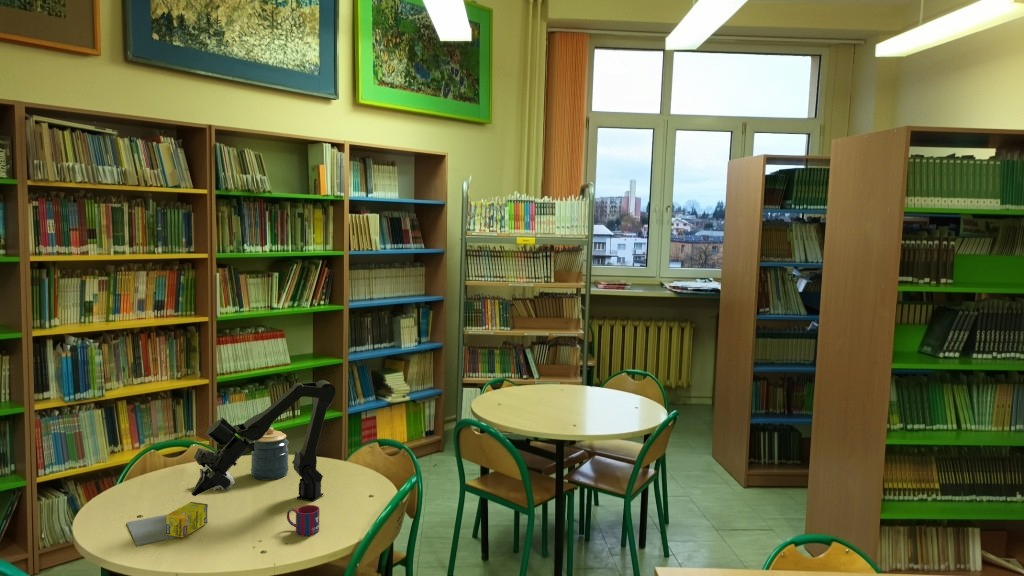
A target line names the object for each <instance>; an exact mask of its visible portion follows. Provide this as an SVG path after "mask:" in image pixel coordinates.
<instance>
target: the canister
mask: <svg viewBox="0 0 1024 576" xmlns="http://www.w3.org/2000/svg"><path fill="white" fill-rule="evenodd" d="M286 438H287V434H285V433H283V432H282V431H280V430H276V429H274V427H271V426H270V428H269V430H268V431H267V432H266V433H265V434H264V436H263V437H262V438H261V439H259V440H257V441H253V442H254V443H255V445H254V447H255V451H254V452H253V451H252V450H251V452H250V456H251V459H250V461H251V467H250V474H251V478H253V479H255V480H258V481H259V480H260V481H269V480H270V481H272V480H277V479H281V478H283V477H285V476H287V475H288V473H289V472H288V471H289V452H290V451H289V449H288V444H289V440H288V439H286Z"/></svg>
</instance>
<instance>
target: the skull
mask: <svg viewBox="0 0 1024 576" xmlns="http://www.w3.org/2000/svg"><path fill="white" fill-rule="evenodd" d="M203 468H204V467H202V468H201V469H203ZM226 474H227V476H226V477H228V478H229V480H230V486H229V487H228V488H227V489H224V488H223V487H221V486H220V485H219V486H216V487H213V488H211V490H213V491H214V492H215V491H217V489H221V491H224V490H227V491H228V489H230V488H231V487H232V486H233V485H234V484H235V480H234V478H233V476H232V474H231V473H230V472H229V470H228V471H227V472H226Z"/></svg>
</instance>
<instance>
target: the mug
mask: <svg viewBox="0 0 1024 576" xmlns="http://www.w3.org/2000/svg"><path fill="white" fill-rule="evenodd" d="M290 512H294V513H295V523H294V522H293V521H292V520H291V517H290ZM286 520H287V522H288V523H289V525H291V526H292V527H294V528H295V534H296V535H297V536H300V537H311V536H314V535H316V534H317V533H319V532H320V507H319V506H318V505H314V504H306V505H305V504H304V505H302V506H298V507H297V508H290V509H289V510H288V511H287V512H286Z"/></svg>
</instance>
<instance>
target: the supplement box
mask: <svg viewBox="0 0 1024 576" xmlns="http://www.w3.org/2000/svg"><path fill="white" fill-rule="evenodd" d="M208 508H209V507H208V504H207V503H203V502H202V503H201V502H195V501H190V502H188V503H187V504H184V505H183V506H181V507H178V508H177V509H175V510H173V511H172V512H169V513H167V515H166V514H165V515H166V535H170V536H177V538H185V537H186V536H189V535H188V534H190V533H191V534H192V533H193V532H195V531H197V530H199V529H200V528H201V527H203V526H205V525H207V523H208Z"/></svg>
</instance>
